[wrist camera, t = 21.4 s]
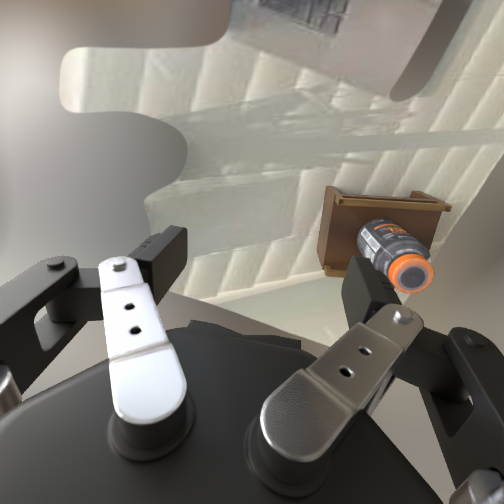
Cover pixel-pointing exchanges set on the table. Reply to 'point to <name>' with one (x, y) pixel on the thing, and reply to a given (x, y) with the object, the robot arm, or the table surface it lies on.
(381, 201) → the tray
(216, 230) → the table surface
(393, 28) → the table surface
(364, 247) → the pill bottle
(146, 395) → the robot arm
